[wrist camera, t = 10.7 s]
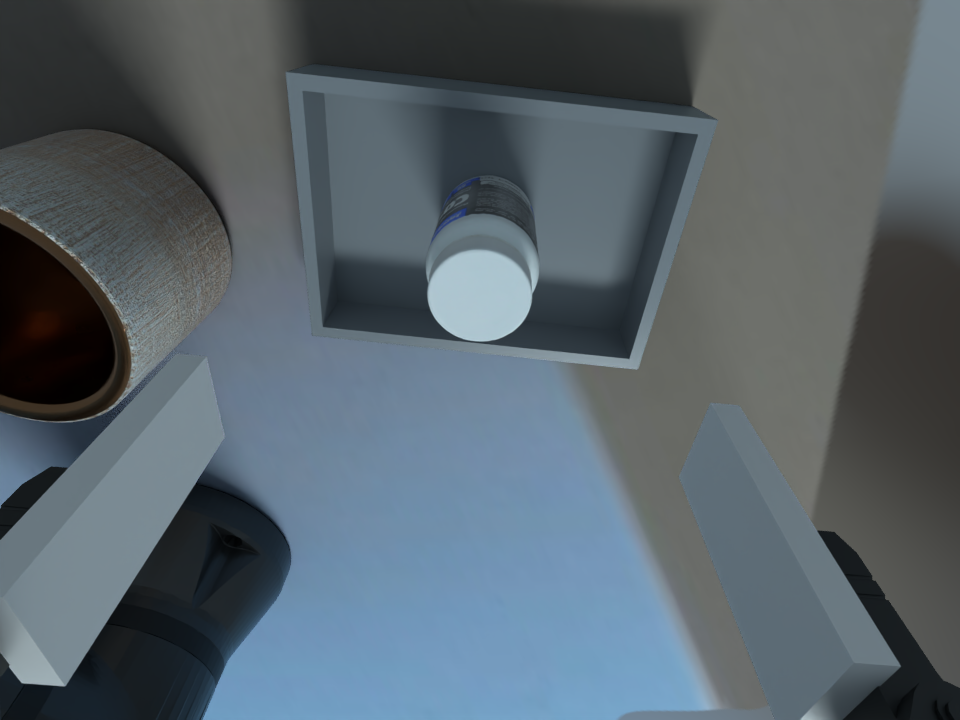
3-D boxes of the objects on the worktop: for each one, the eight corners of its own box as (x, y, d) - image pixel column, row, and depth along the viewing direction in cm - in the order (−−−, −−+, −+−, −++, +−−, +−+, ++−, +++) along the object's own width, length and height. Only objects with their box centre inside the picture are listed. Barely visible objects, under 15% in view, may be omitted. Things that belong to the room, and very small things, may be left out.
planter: (-11, 119, 26) (-245, 170, 18) (210, 131, 25) (75, 188, 17) (76, 315, 32) (-69, 418, 24) (255, 325, 32) (169, 433, 24)
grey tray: (330, 304, 30) (312, 335, 27) (313, 63, 24) (285, 72, 21) (625, 335, 31) (637, 369, 28) (692, 106, 24) (718, 120, 21)
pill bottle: (456, 159, 25) (436, 218, 18) (548, 192, 26) (563, 262, 19) (429, 248, 28) (402, 330, 21) (514, 276, 28) (515, 365, 21)
